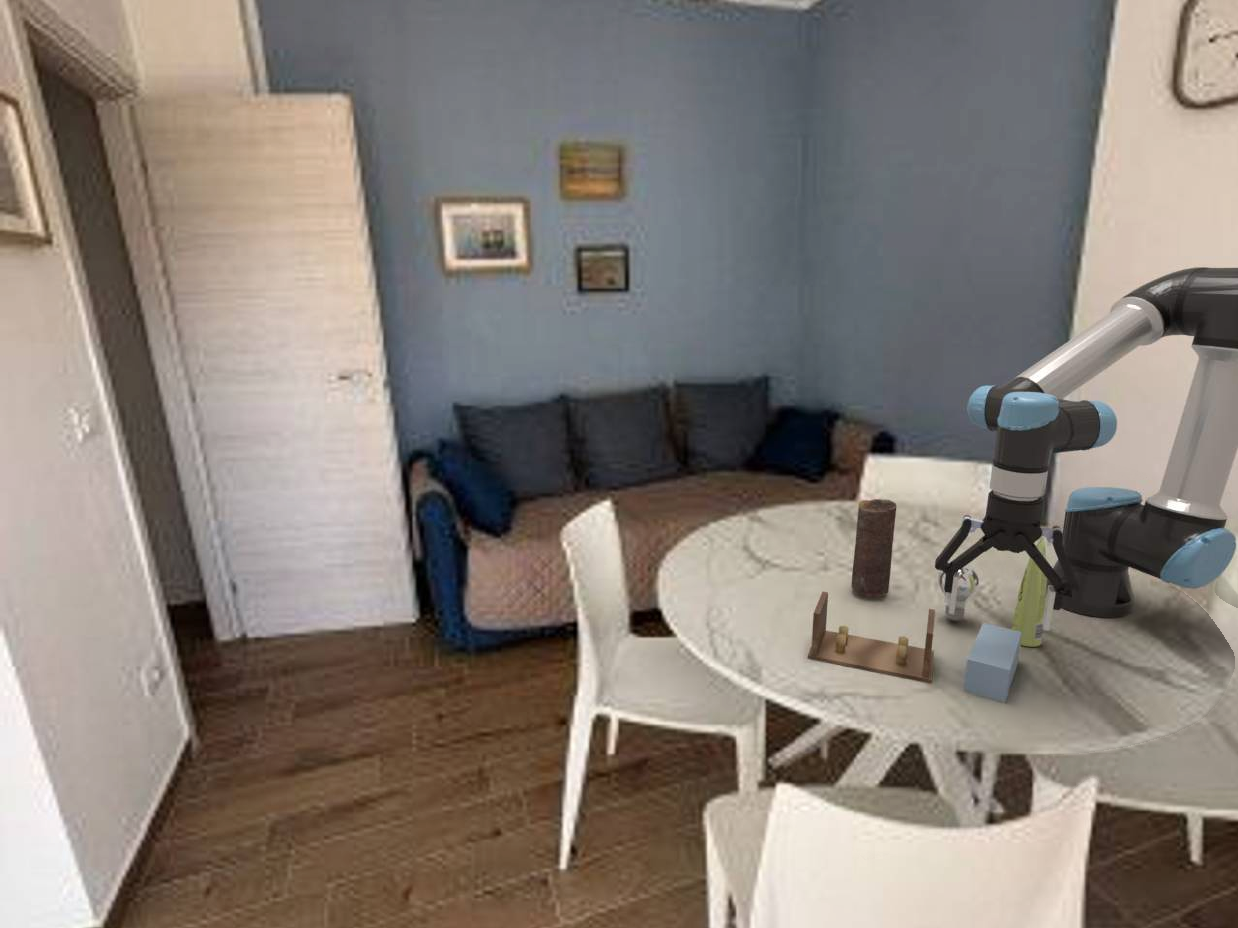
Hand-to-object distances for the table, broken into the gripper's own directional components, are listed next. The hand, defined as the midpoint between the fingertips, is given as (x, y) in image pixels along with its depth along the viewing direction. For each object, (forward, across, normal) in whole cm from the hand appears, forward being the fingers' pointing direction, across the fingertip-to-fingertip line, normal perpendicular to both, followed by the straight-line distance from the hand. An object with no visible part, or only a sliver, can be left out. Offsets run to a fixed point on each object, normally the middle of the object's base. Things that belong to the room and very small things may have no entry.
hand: (997, 618), depth 118 cm
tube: (+11, -6, -15) cm, 20 cm away
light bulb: (+11, +6, -18) cm, 22 cm away
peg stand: (+11, +19, +1) cm, 22 cm away
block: (+11, 0, 0) cm, 11 cm away
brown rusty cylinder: (+11, +22, -24) cm, 34 cm away
